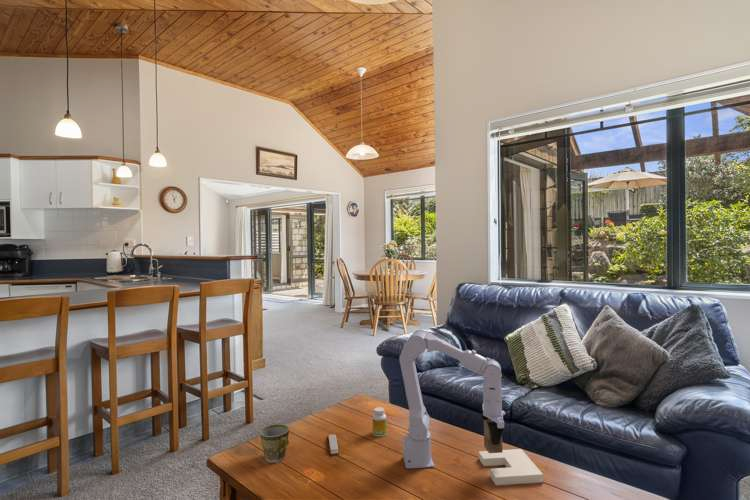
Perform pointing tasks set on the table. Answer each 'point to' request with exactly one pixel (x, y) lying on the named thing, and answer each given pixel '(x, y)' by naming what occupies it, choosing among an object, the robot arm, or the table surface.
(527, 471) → the socket block
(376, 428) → the supplement bottle
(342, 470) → the table surface
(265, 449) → the ceramic cup
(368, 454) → the table surface
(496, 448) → the peg
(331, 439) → the harmonica
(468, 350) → the robot arm
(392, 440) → the table surface
